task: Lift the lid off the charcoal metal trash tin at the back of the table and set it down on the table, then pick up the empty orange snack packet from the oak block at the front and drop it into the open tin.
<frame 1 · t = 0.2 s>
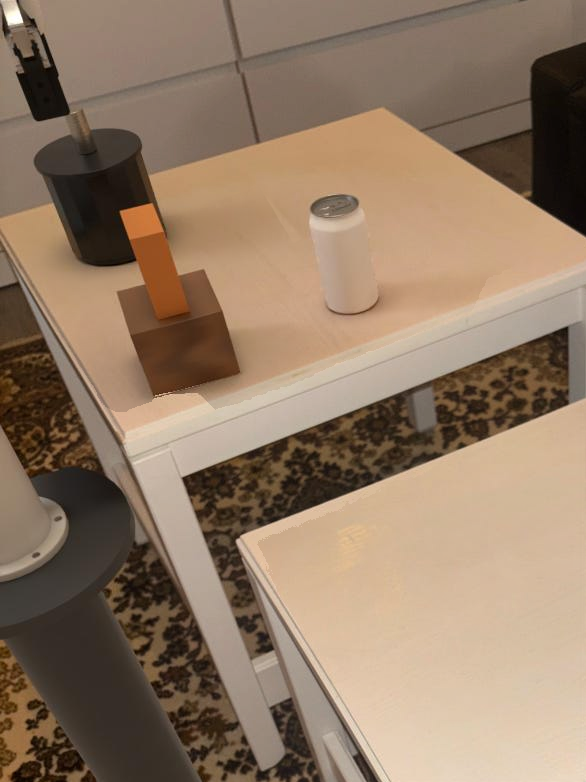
hand: (47, 98, 91), 30 cm above the table, tool pointing down, fingers open, 9 cm apart
riser: (189, 363, 114), on the table
can: (353, 303, 120), on the table
packet: (168, 300, 108), point 8 cm above the table, touching riser
tin lid: (89, 155, 126), point 11 cm above the table, touching trash tin
trash tin: (120, 241, 135), on the table
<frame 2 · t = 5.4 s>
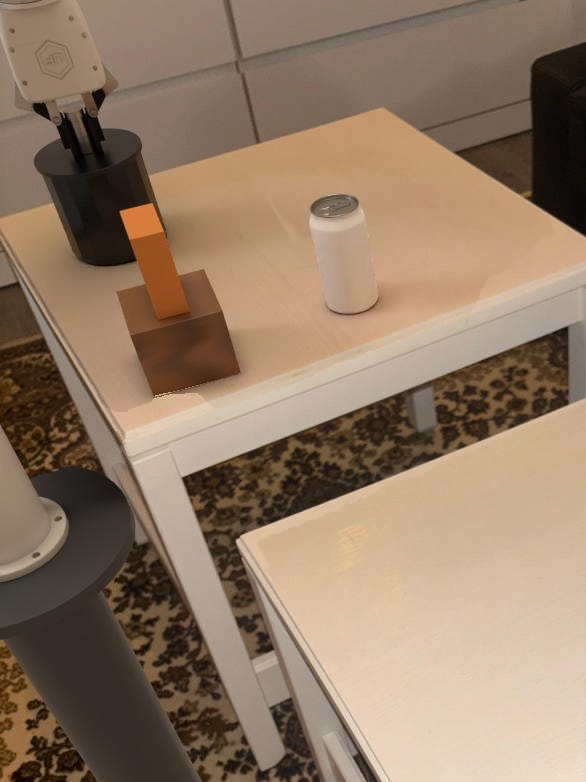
hand: (87, 149, 125), 12 cm above the table, tool pointing down, fingers closed on tin lid, 2 cm apart
tin lid: (89, 155, 126), point 12 cm above the table, touching gripper, trash tin
everything else where it was.
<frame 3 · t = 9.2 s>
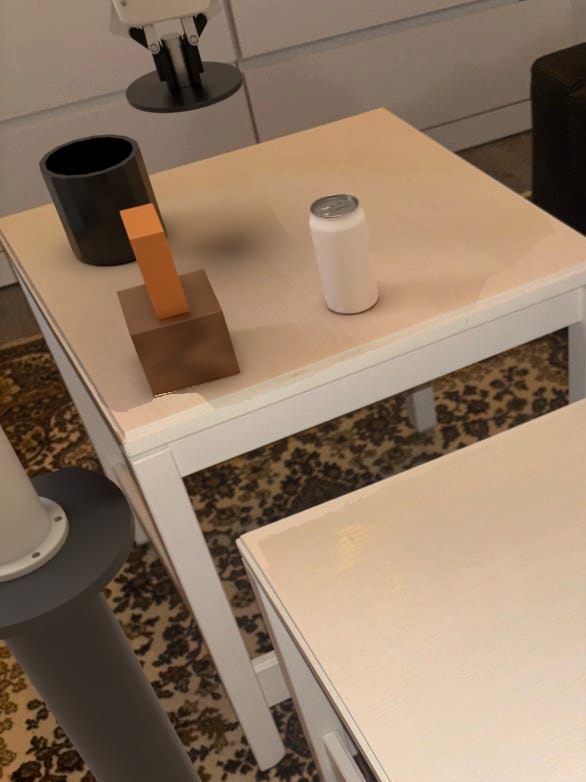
hand: (183, 82, 115), 21 cm above the table, tool pointing down, fingers closed on tin lid, 2 cm apart
tin lid: (185, 89, 115), point 20 cm above the table, touching gripper
everything else where it was.
when the fingers open (1 cm above the table, at t = 13.0 s): tin lid stays where it is, point 1 cm above the table.
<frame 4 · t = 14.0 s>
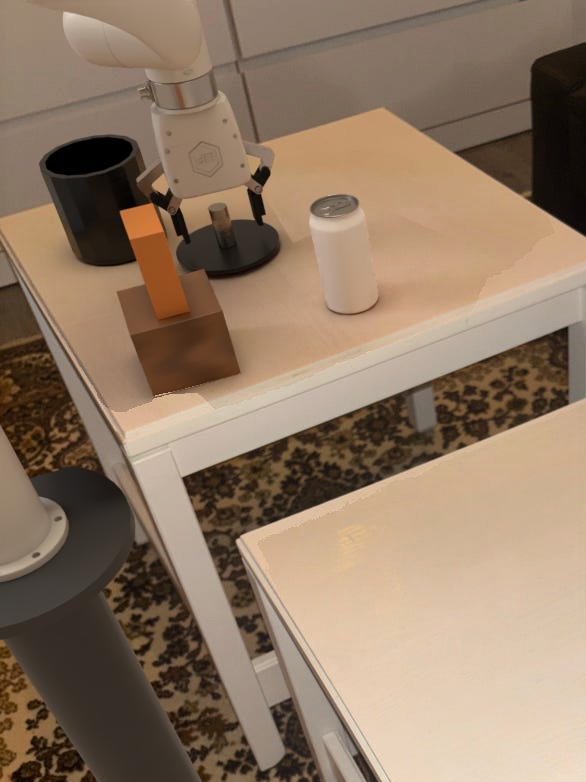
hand: (223, 230, 128), 3 cm above the table, tool pointing down, fingers open, 9 cm apart
tin lid: (228, 248, 130), point 1 cm above the table
everything else where it was.
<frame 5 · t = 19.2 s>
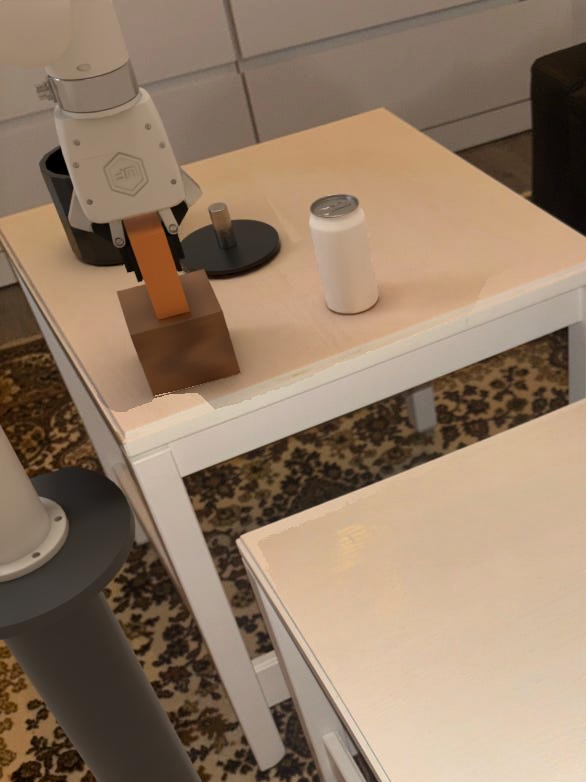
hand: (157, 269, 105), 12 cm above the table, tool pointing down, fingers closed on packet, 3 cm apart
packet: (168, 300, 108), point 8 cm above the table, touching gripper, riser
everything else where it was.
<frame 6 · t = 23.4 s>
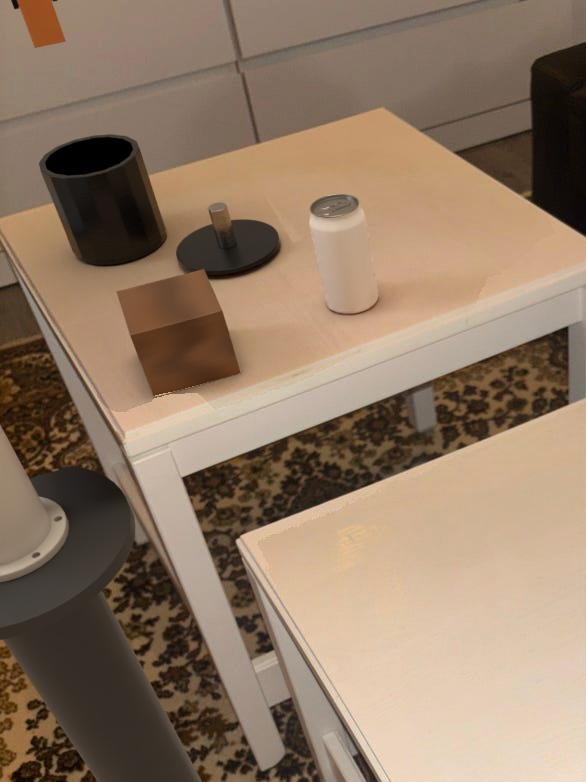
packet: (47, 35, 114), point 26 cm above the table, touching gripper
everything else where it was.
when the fingers open (13 cm above the table, at t = 27.7 s): packet drops 9 cm, resting on trash tin.
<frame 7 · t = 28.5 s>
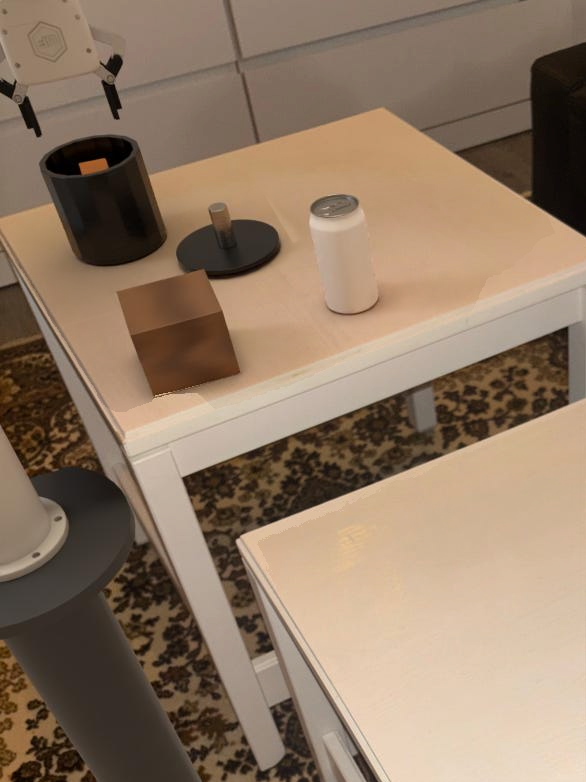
hand: (77, 124, 123), 15 cm above the table, tool pointing down, fingers open, 9 cm apart
packet: (117, 237, 134), point 1 cm above the table, touching trash tin
everything else where it was.
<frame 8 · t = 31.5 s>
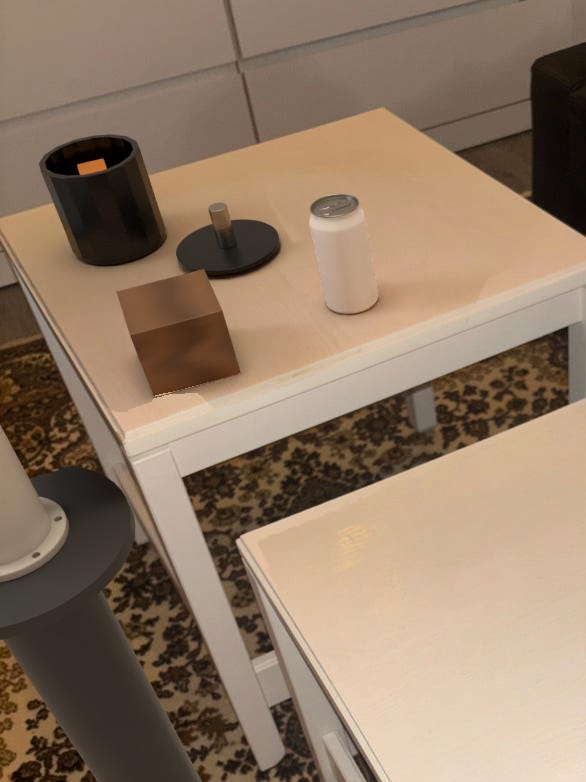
nothing on the table moved.
at the end: tin lid inside the target area on the table beside the trash tin (0.1 cm from its centre), point 0.6 cm above the table; packet inside the target area in the trash tin (0.2 cm from its centre), point 0.5 cm above the trash tin's base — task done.
